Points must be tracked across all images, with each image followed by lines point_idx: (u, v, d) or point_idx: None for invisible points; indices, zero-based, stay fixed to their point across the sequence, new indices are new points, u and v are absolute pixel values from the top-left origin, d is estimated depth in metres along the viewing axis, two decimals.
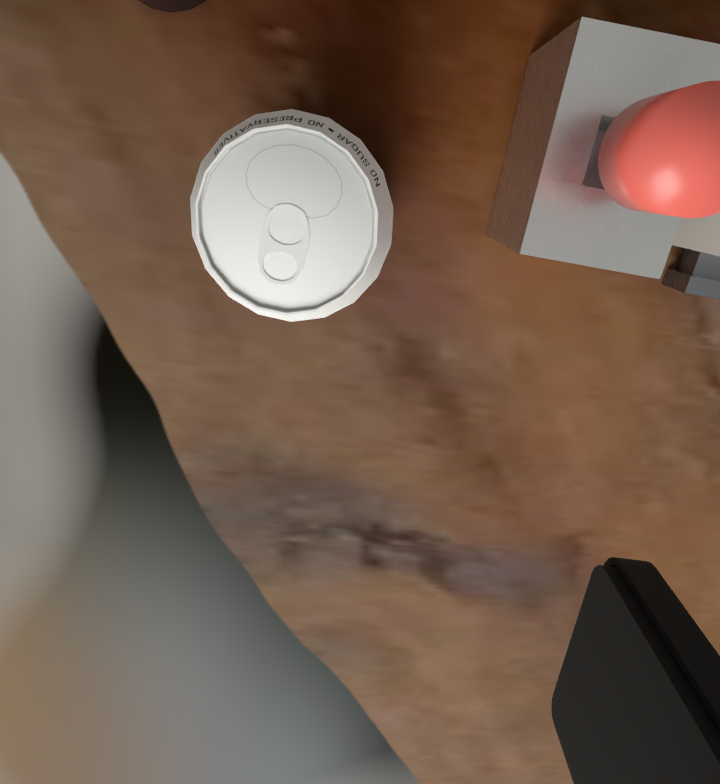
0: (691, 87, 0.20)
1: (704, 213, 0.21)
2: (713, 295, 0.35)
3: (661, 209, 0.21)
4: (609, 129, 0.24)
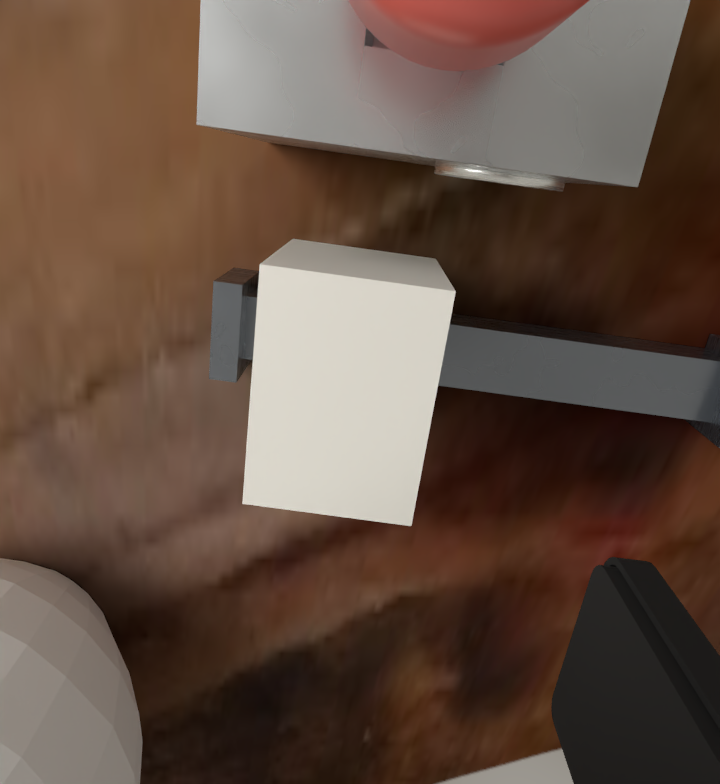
0: None
1: None
2: (215, 329, 0.21)
3: None
4: None
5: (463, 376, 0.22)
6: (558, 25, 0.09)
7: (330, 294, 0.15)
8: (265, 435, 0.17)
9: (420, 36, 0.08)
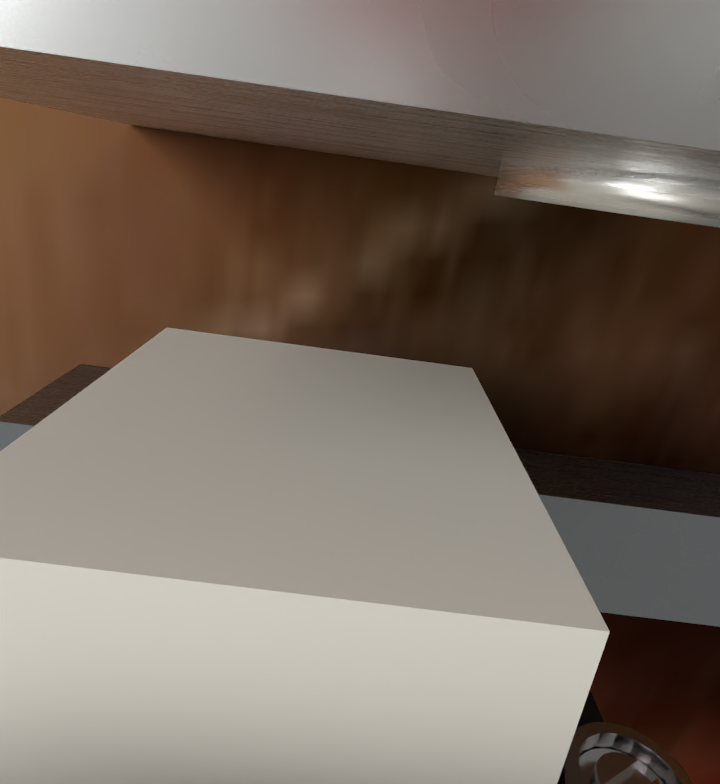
0: None
1: None
2: None
3: None
4: None
5: None
6: None
7: (153, 635, 0.04)
8: None
9: None
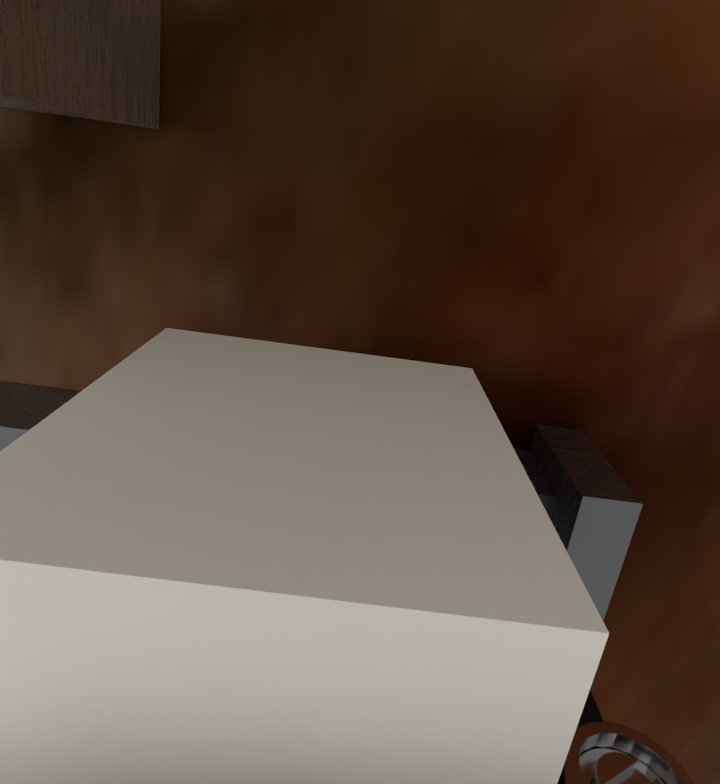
0: None
1: None
2: None
3: None
4: None
5: None
6: None
7: (151, 637, 0.04)
8: None
9: None
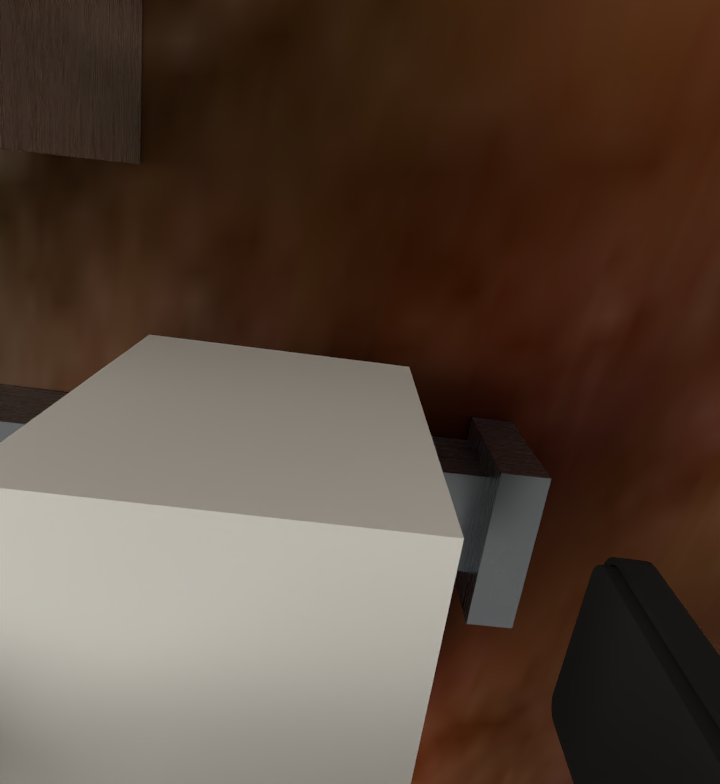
0: None
1: None
2: None
3: None
4: None
5: None
6: None
7: (140, 549, 0.06)
8: None
9: None
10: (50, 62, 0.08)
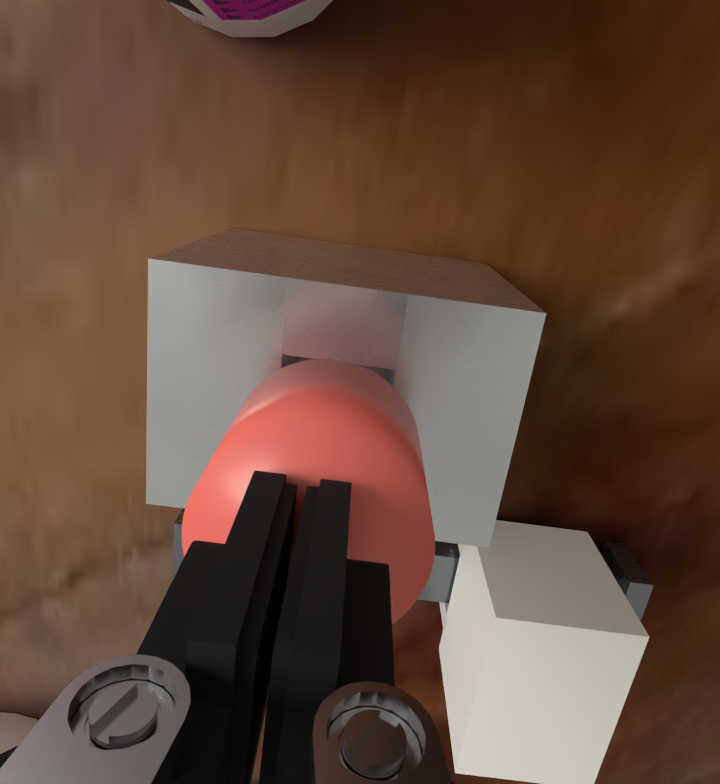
0: (422, 504, 0.10)
1: None
2: (176, 558, 0.25)
3: (192, 492, 0.10)
4: (362, 370, 0.13)
5: None
6: None
7: (548, 637, 0.19)
8: (481, 728, 0.21)
9: None
10: None
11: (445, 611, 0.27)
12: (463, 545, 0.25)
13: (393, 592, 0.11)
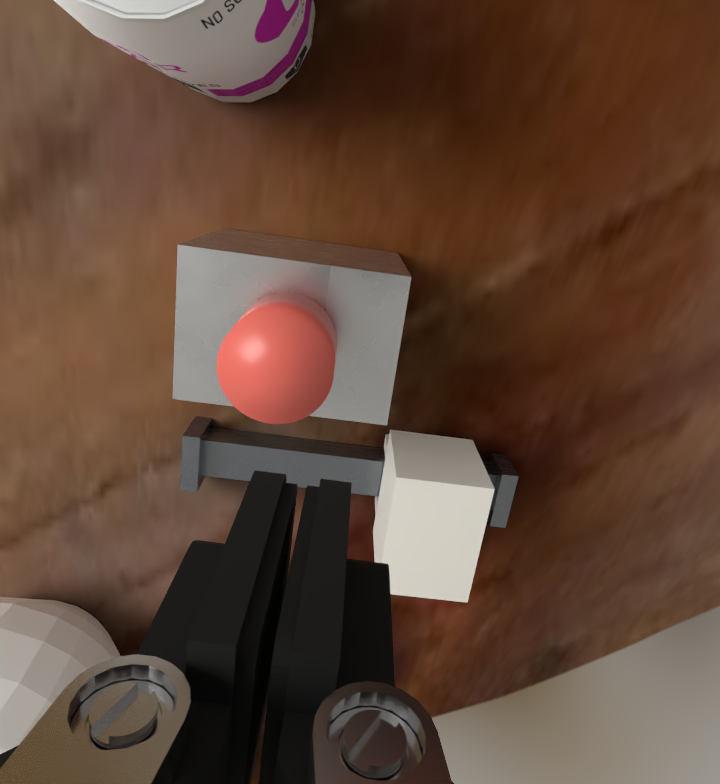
0: (327, 347, 0.22)
1: (222, 382, 0.23)
2: (183, 462, 0.35)
3: (222, 343, 0.22)
4: (304, 298, 0.25)
5: None
6: None
7: (431, 490, 0.30)
8: (392, 557, 0.31)
9: None
10: None
11: (377, 502, 0.37)
12: (386, 450, 0.36)
13: (315, 393, 0.23)
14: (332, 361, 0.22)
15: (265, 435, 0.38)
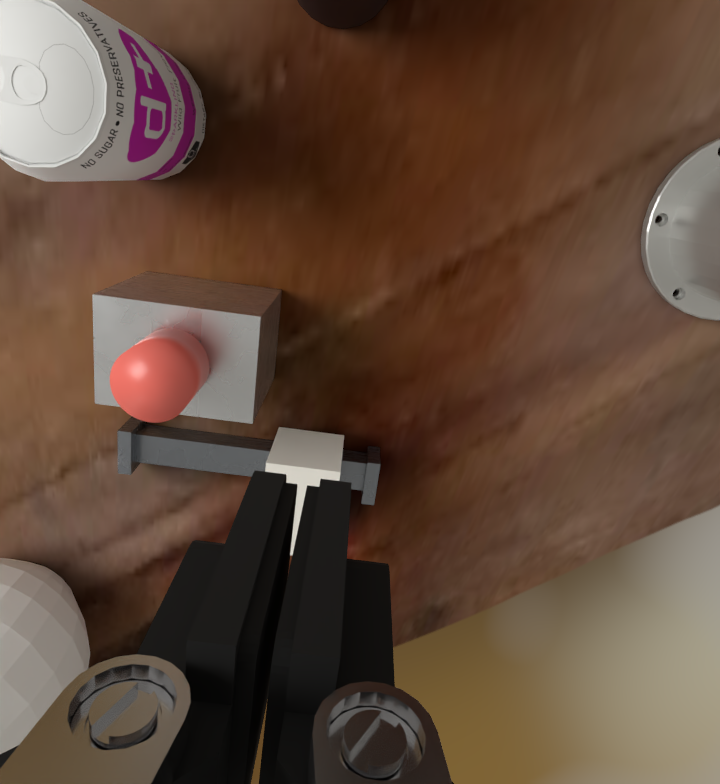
0: (184, 369, 0.32)
1: (114, 393, 0.33)
2: (119, 451, 0.45)
3: (112, 367, 0.32)
4: (182, 332, 0.35)
5: (241, 469, 0.47)
6: None
7: (292, 473, 0.40)
8: None
9: None
10: (267, 379, 0.42)
11: None
12: None
13: (179, 401, 0.33)
14: (189, 379, 0.32)
15: (187, 431, 0.48)
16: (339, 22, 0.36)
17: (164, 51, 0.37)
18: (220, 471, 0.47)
